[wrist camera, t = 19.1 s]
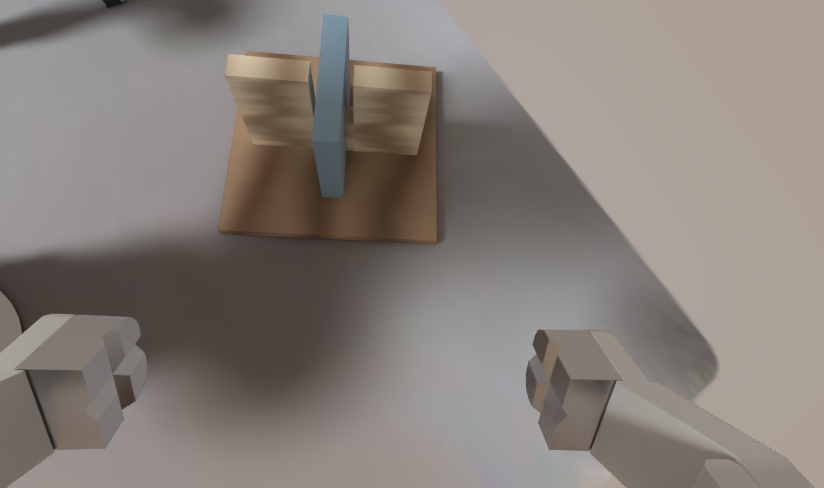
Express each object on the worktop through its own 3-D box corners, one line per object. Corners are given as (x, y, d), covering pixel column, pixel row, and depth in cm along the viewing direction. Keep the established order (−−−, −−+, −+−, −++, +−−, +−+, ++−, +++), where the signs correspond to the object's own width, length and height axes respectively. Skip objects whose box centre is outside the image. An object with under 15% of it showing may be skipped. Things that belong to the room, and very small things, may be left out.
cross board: (221, 233, 42) (176, 179, 32) (249, 57, 49) (219, -35, 38) (435, 244, 44) (458, 195, 34) (434, 73, 51) (453, -11, 40)
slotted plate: (343, 198, 43) (338, 142, 34) (321, 196, 43) (311, 140, 34) (350, 92, 47) (348, 16, 38) (330, 91, 47) (323, 14, 38)
